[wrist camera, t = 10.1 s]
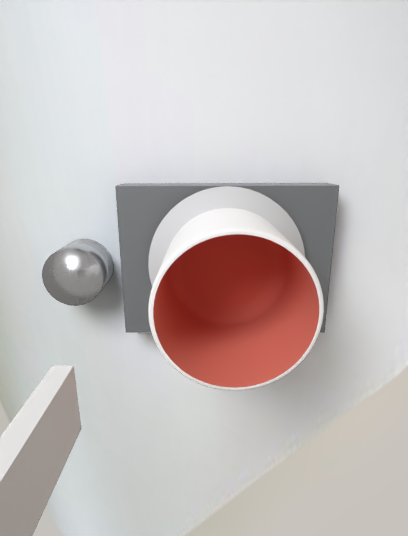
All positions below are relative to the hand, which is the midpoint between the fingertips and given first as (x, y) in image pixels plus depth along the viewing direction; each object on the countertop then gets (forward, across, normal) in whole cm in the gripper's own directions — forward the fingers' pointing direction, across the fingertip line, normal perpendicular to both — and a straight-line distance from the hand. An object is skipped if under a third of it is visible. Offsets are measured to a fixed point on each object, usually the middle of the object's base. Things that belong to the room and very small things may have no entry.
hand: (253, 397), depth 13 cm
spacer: (+22, -13, -1) cm, 25 cm away
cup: (+18, 0, 0) cm, 18 cm away
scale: (+22, 0, 0) cm, 22 cm away
